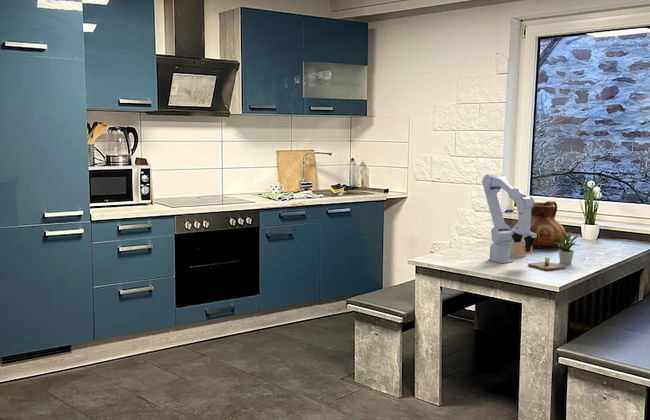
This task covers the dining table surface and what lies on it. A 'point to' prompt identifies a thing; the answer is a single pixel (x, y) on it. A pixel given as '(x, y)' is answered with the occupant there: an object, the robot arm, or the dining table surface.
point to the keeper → (546, 265)
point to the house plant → (566, 248)
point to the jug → (545, 225)
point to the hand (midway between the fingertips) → (522, 250)
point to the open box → (521, 248)
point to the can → (513, 249)
